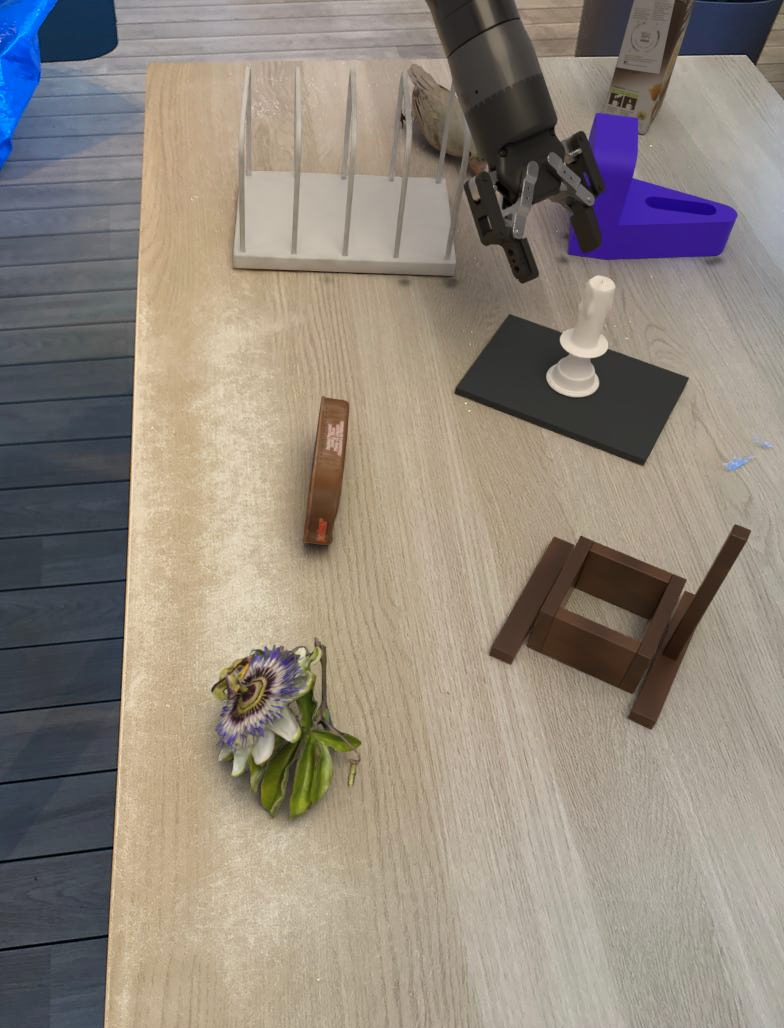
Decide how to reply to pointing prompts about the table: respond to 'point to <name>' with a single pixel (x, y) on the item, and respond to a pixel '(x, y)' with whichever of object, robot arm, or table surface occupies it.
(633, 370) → the mat
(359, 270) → the file sorter
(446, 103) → the decorative bird
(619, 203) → the bracket
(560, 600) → the brown wooden stand
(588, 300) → the candle
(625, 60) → the coffee box
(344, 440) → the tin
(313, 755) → the passion flower
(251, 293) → the table surface
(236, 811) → the table surface
